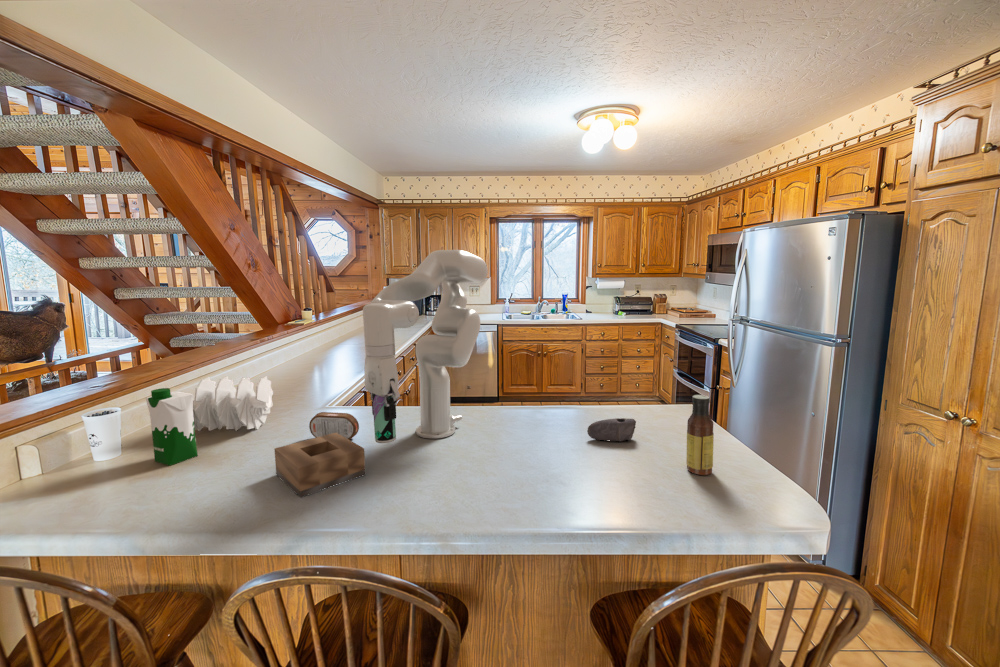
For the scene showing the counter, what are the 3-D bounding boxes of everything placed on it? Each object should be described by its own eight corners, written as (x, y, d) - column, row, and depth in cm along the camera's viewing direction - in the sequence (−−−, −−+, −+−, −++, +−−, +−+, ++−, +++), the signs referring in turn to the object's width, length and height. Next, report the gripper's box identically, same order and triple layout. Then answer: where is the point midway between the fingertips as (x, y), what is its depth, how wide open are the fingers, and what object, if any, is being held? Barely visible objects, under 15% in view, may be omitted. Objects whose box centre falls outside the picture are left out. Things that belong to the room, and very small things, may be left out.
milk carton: (149, 462, 117) (140, 390, 115) (184, 450, 126) (178, 382, 123) (167, 468, 114) (160, 394, 111) (203, 455, 122) (197, 386, 119)
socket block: (337, 456, 121) (336, 432, 120) (365, 474, 110) (364, 448, 109) (276, 474, 110) (274, 448, 109) (300, 497, 99) (298, 468, 98)
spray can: (377, 435, 120) (372, 365, 116) (397, 434, 120) (393, 364, 117) (373, 444, 114) (368, 370, 111) (394, 443, 115) (390, 369, 111)
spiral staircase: (201, 437, 146) (278, 431, 149) (166, 432, 130) (253, 425, 132) (208, 384, 152) (282, 379, 154) (175, 372, 135) (258, 367, 137)
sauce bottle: (710, 467, 114) (715, 394, 111) (713, 478, 108) (719, 401, 106) (683, 464, 116) (688, 392, 114) (685, 474, 110) (690, 398, 108)
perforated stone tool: (588, 443, 131) (588, 421, 130) (585, 436, 136) (586, 415, 135) (638, 444, 130) (639, 422, 129) (634, 438, 135) (635, 416, 134)
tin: (360, 438, 135) (358, 412, 133) (355, 442, 131) (354, 415, 130) (313, 436, 136) (312, 411, 135) (308, 440, 133) (306, 414, 132)
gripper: (351, 348, 116) (356, 412, 119) (384, 357, 104) (388, 429, 107) (376, 344, 122) (380, 406, 125) (411, 352, 110) (414, 421, 113)
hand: (384, 416), depth 116 cm, fingers closed on spray can, 5 cm apart
